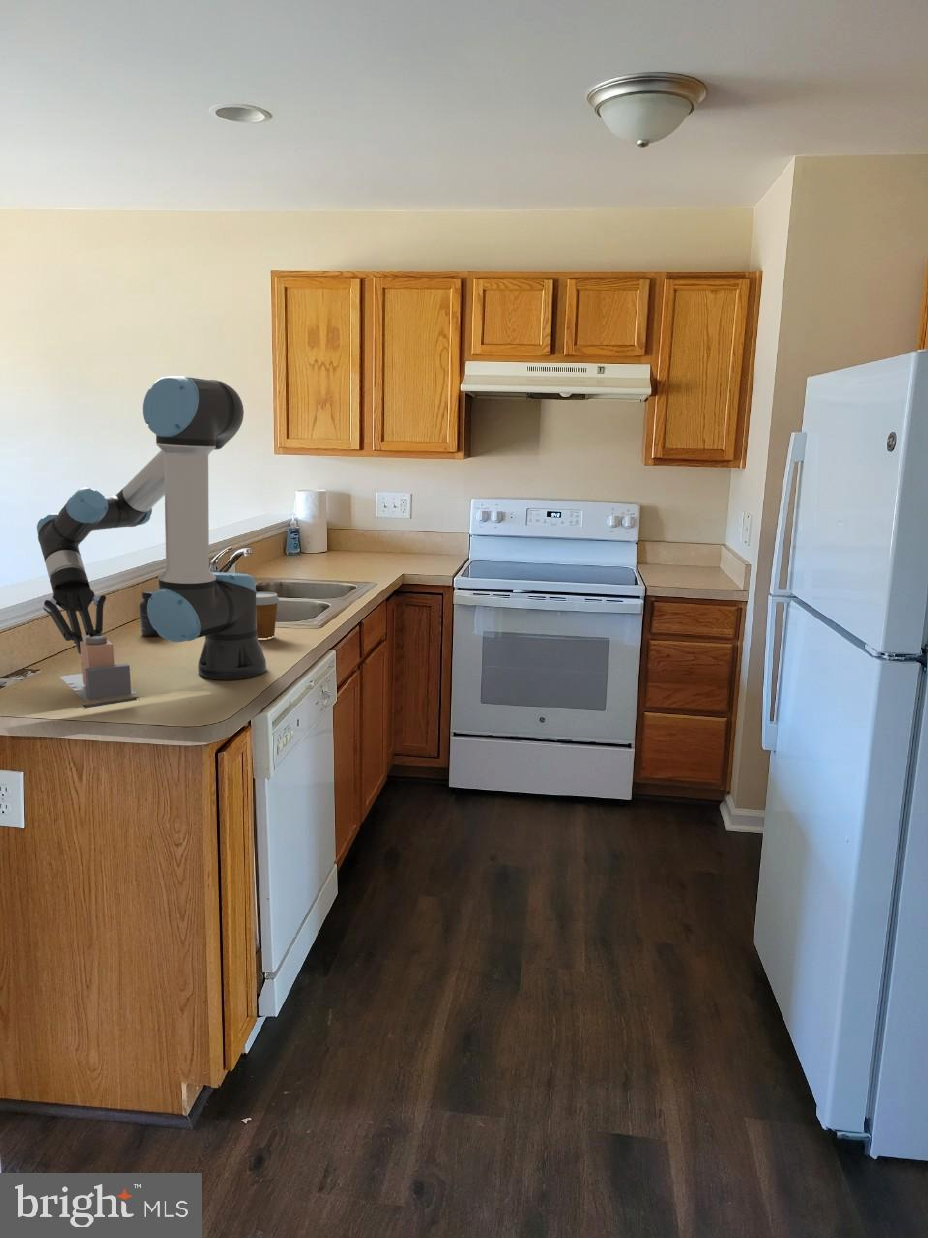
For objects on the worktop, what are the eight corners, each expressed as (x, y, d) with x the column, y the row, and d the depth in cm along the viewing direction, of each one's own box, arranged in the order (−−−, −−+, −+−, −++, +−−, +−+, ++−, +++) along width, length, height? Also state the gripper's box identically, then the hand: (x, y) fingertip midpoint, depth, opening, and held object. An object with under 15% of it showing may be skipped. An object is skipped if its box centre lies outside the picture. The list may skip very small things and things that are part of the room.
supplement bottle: (158, 630, 239) (156, 588, 237) (172, 634, 235) (170, 591, 233) (135, 634, 234) (133, 591, 232) (149, 638, 230) (147, 594, 227)
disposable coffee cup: (287, 638, 233) (286, 594, 230) (257, 643, 226) (256, 599, 223) (266, 632, 239) (265, 590, 237) (236, 638, 232) (235, 594, 230)
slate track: (59, 683, 187) (57, 649, 185) (107, 676, 193) (105, 644, 191) (85, 708, 170) (82, 671, 168) (136, 700, 176) (134, 664, 174)
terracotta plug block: (83, 683, 180) (79, 637, 178) (108, 679, 183) (104, 634, 181) (90, 690, 175) (87, 642, 173) (116, 686, 178) (112, 639, 176)
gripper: (96, 583, 198) (121, 669, 188) (34, 588, 190) (57, 678, 180) (100, 563, 192) (126, 650, 183) (37, 567, 185) (61, 658, 175)
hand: (92, 664), depth 182 cm, fingers closed
